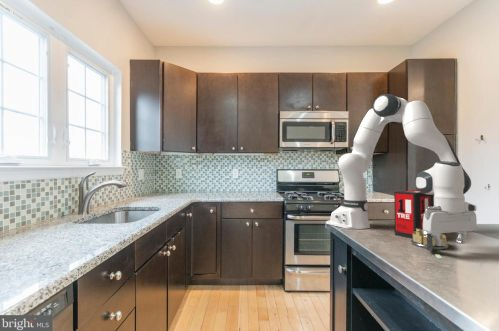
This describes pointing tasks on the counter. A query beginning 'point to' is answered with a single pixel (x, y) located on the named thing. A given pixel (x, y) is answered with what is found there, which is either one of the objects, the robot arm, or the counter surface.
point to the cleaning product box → (410, 211)
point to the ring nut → (427, 239)
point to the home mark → (438, 256)
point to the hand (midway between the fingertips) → (449, 244)
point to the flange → (426, 245)
